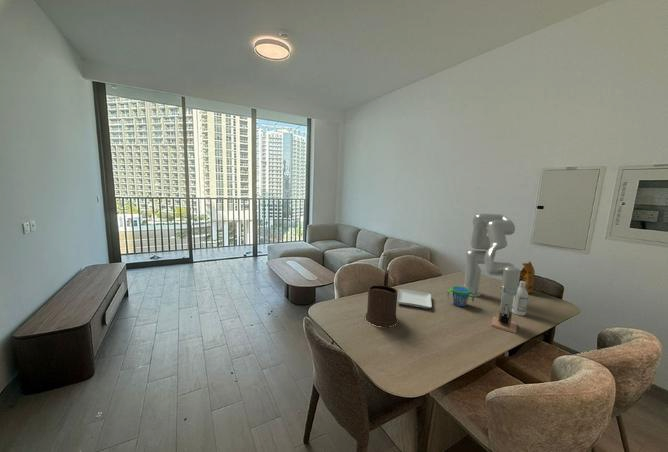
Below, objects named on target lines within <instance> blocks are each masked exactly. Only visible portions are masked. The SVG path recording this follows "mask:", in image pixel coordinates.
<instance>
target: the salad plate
mask: <svg viewBox="0 0 668 452" xmlns="http://www.w3.org/2000/svg"><path fill="white" fill-rule="evenodd" d="M397 304H399V305H404V306H408V305H409V307H414V306H415V308H420V307H421V309H431V308H432V307H433V303H432V294H431V293H429V292H423V291H417V290H411V289H405V288H404V289H403V288H398V292H397Z"/></svg>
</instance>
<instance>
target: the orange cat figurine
mask: <svg viewBox="0 0 668 452" xmlns="http://www.w3.org/2000/svg"><path fill="white" fill-rule="evenodd" d="M522 266H523V267H522V268H521V270H520V277H519V284H520V281H524V282H526V286H525V289H526V290H527V292H528V294H531V293H532V292H533V288H534V283H535V275H536V273H535V267H534V266H533V263H532V262H531V261H527V263H525V262H524V263H522ZM519 284H518V287H519Z"/></svg>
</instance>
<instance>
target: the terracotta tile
mask: <svg viewBox="0 0 668 452" xmlns="http://www.w3.org/2000/svg"><path fill="white" fill-rule="evenodd" d="M498 320H499V317H497V316H493V317H492V320H491V328H492V327H493V328H496V329H499V330H502V331H506V332H509V333H513V334H517V321H512V320H511V324H510V325H507V324H504V323H500V322H498Z"/></svg>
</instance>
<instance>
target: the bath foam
mask: <svg viewBox="0 0 668 452" xmlns="http://www.w3.org/2000/svg"><path fill="white" fill-rule="evenodd" d="M525 286H526V282H524V281H520V284H519V287H518V291H517V295H514V299H513V304H512V308H511V312H512V314H515V315H517V316H525V315H526V314H527V313H526V312H527V306H528V300H529V293H528V292H527V290H526V289H525Z"/></svg>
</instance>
